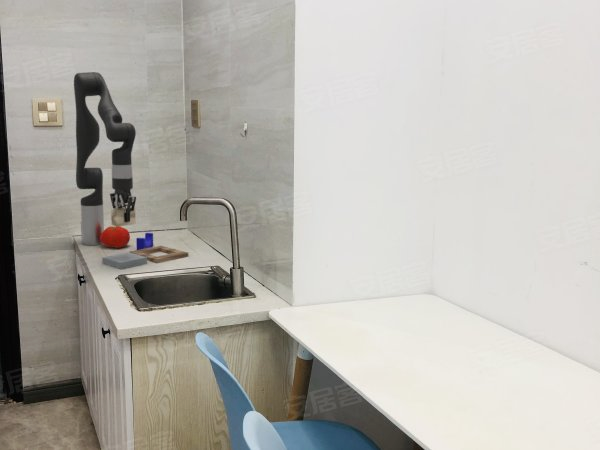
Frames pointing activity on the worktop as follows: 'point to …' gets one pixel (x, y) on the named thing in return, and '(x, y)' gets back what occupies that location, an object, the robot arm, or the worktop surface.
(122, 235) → the tomato
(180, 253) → the board
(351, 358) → the worktop surface
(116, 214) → the ash block
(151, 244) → the cable clip
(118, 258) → the plinth
